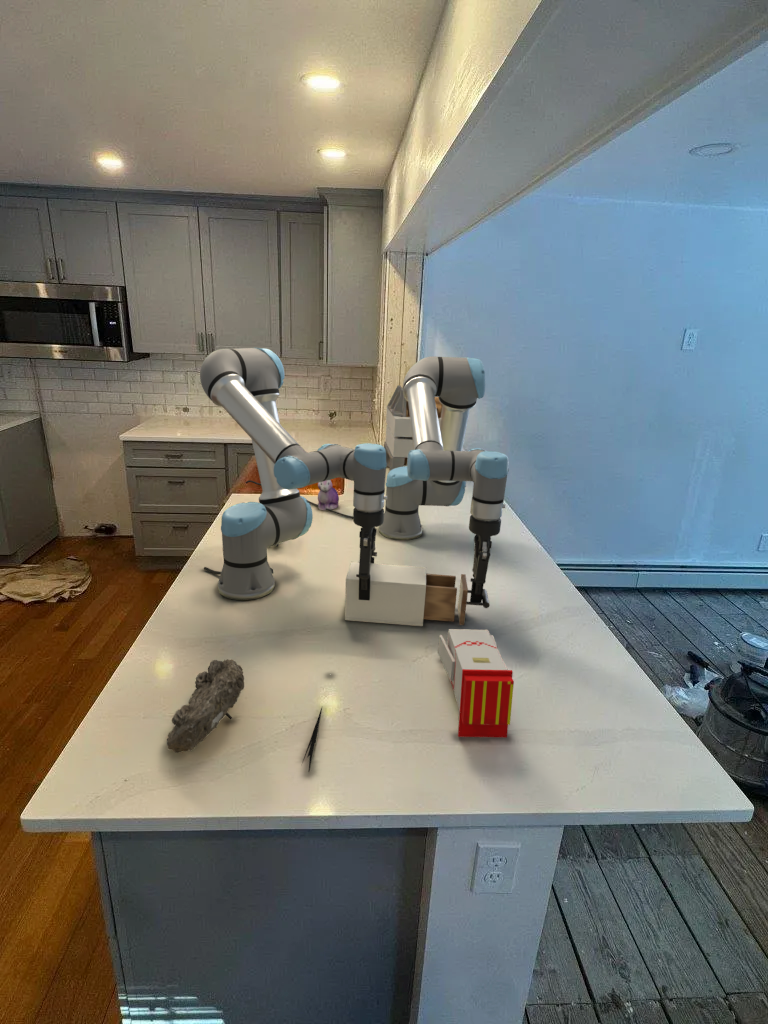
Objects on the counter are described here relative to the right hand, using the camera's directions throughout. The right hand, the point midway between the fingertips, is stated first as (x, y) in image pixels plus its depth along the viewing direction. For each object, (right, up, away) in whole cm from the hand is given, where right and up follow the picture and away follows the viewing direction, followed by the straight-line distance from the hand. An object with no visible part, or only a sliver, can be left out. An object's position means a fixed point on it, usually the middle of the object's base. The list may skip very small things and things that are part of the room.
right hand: (475, 602), depth 145 cm
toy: (-5, -14, -26) cm, 30 cm away
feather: (-36, -17, -36) cm, 53 cm away
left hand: (-28, +3, +1) cm, 28 cm away
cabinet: (-23, -3, +3) cm, 23 cm away
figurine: (-45, +25, +78) cm, 94 cm away
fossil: (-56, -16, -36) cm, 69 cm away
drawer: (-9, -3, +2) cm, 10 cm away
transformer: (-6, +42, +130) cm, 137 cm away
